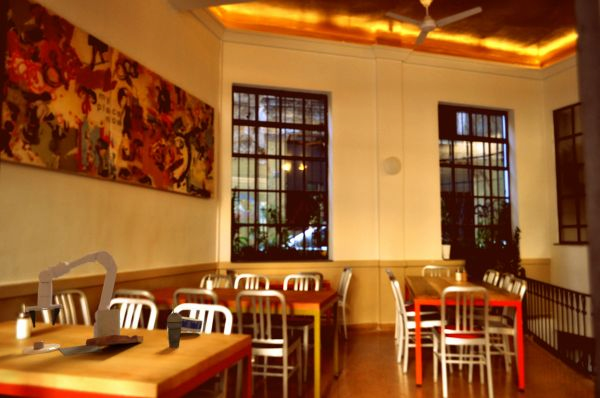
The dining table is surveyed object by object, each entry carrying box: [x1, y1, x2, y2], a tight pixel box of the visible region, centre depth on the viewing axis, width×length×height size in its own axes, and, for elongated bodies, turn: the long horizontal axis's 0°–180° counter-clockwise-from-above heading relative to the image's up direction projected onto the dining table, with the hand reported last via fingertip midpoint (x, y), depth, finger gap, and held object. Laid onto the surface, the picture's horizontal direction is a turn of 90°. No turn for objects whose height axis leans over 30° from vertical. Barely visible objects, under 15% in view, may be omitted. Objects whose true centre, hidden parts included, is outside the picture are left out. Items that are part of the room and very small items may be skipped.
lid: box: [21, 340, 61, 355], centre depth 202 cm, size 17×17×4 cm
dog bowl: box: [181, 316, 203, 333], centre depth 240 cm, size 15×15×6 cm
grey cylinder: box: [98, 308, 121, 337], centre depth 205 cm, size 10×10×12 cm
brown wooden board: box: [85, 334, 144, 347], centre depth 206 cm, size 13×30×3 cm, turn 176°
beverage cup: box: [166, 302, 183, 349], centre depth 211 cm, size 7×7×20 cm
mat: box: [58, 344, 103, 357], centre depth 202 cm, size 15×15×1 cm
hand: (43, 326), depth 206 cm, fingers open, 7 cm apart
